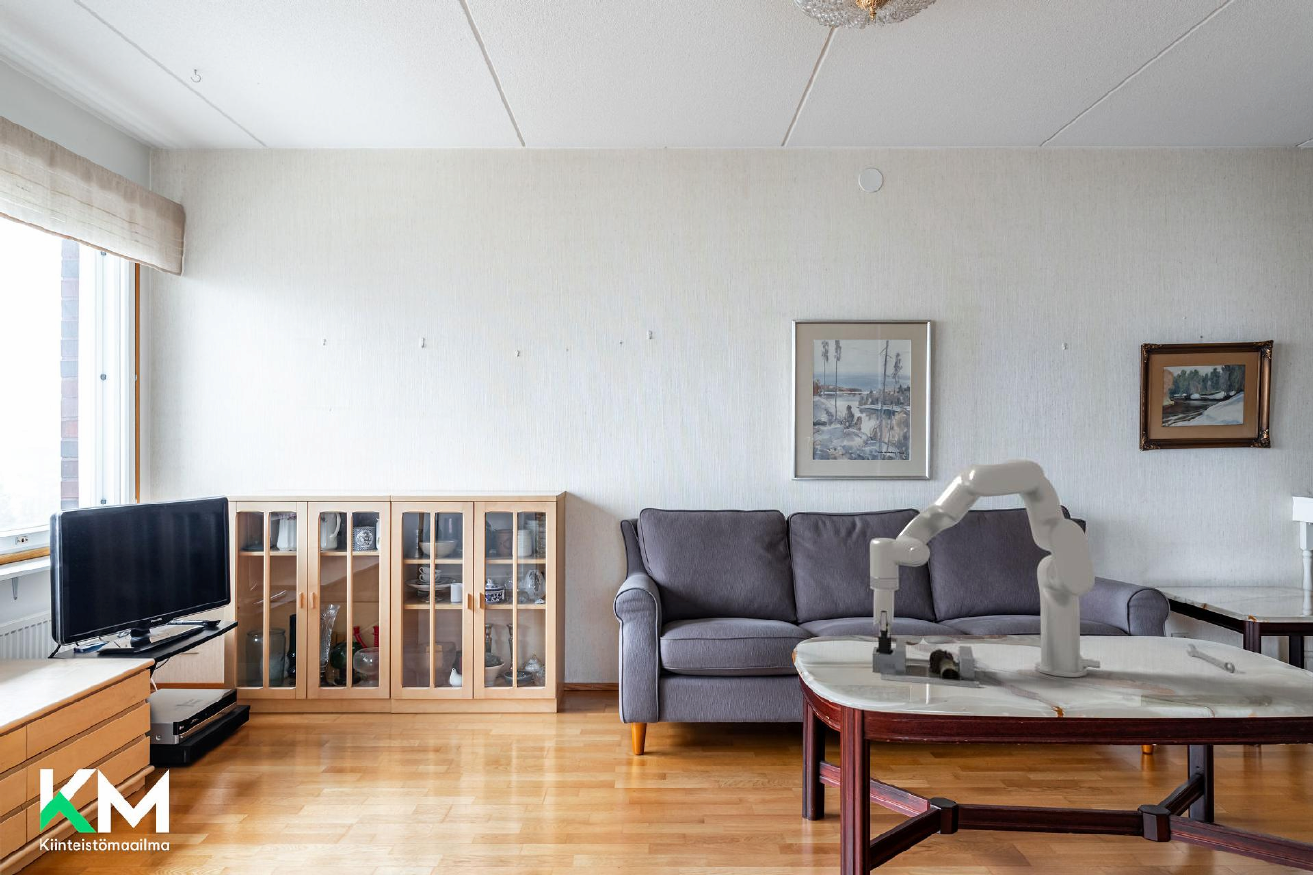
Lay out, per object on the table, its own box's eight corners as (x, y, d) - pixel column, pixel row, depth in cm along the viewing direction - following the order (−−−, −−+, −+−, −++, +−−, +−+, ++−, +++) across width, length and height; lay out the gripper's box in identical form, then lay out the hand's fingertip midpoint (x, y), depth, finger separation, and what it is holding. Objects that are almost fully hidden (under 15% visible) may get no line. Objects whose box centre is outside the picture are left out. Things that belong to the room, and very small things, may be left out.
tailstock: (906, 664, 221) (906, 639, 221) (905, 677, 207) (904, 651, 208) (875, 661, 223) (874, 637, 224) (871, 674, 210) (871, 648, 210)
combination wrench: (1235, 662, 212) (1190, 642, 231) (1230, 661, 212) (1185, 641, 232) (1235, 675, 212) (1190, 654, 232) (1230, 675, 212) (1185, 654, 232)
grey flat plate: (974, 666, 218) (974, 662, 218) (979, 687, 199) (979, 683, 199) (884, 659, 226) (884, 655, 226) (881, 679, 206) (881, 674, 206)
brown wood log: (961, 685, 201) (960, 663, 202) (933, 684, 203) (933, 662, 203) (953, 666, 219) (953, 646, 219) (928, 665, 220) (927, 645, 220)
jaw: (971, 668, 215) (970, 646, 215) (974, 682, 202) (974, 659, 202) (957, 667, 216) (957, 645, 216) (960, 681, 203) (959, 658, 203)
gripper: (872, 577, 225) (872, 642, 225) (868, 587, 210) (868, 656, 209) (899, 579, 223) (900, 643, 223) (897, 588, 207) (898, 658, 207)
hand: (884, 649), depth 216 cm, fingers open, 3 cm apart
